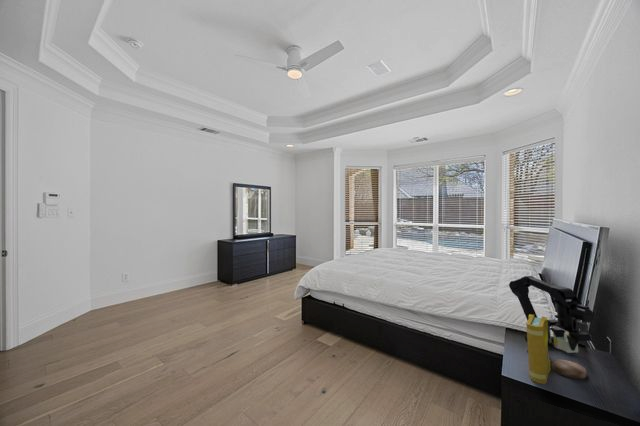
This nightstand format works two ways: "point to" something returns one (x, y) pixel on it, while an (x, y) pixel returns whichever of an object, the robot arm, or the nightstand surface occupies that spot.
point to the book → (538, 348)
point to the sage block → (565, 345)
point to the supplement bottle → (556, 339)
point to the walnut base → (569, 369)
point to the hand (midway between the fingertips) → (567, 347)
